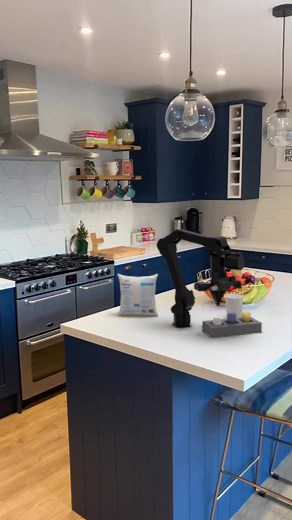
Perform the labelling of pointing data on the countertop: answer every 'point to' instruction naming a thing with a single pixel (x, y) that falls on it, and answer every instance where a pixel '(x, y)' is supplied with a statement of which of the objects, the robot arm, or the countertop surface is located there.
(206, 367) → the countertop surface
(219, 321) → the white key
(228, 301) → the white cup
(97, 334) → the countertop surface
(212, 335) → the key block
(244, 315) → the ochre key
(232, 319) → the navy key
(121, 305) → the pouch
